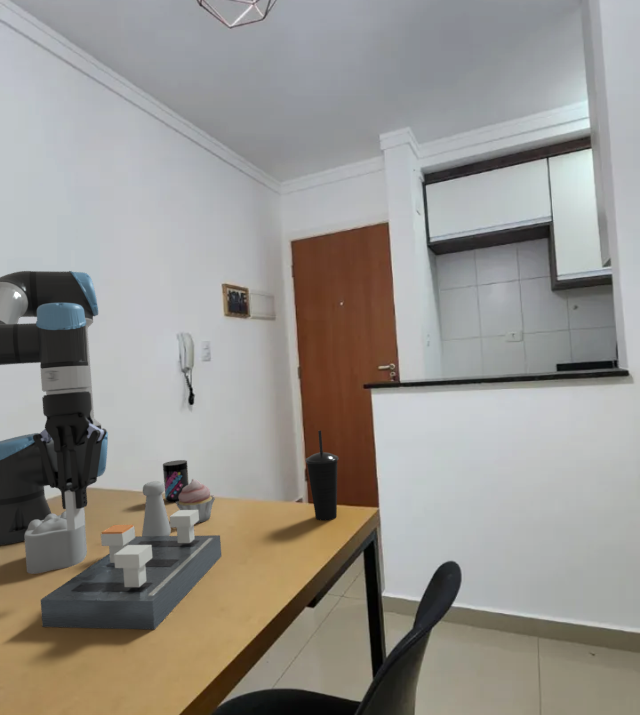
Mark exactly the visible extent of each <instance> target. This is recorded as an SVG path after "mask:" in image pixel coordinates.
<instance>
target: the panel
mask: <svg viewBox="0 0 640 715" xmlns="http://www.w3.org/2000/svg"><path fill="white" fill-rule="evenodd" d="M194 537H195V539H194V540H193V541H192V542H190V543H178V539H177V535H169V536H142V535H141V536H140V535H139V536H136V535H135V538H134V539H133V540H131V541H130V542H129V545H152V559H150V560H149V561H148V562H147V563H145V568H146V582H145V583H144V584H142V585H141V586H140V587H125V585H124V572H123V568H115V563H110V553H108V554H106V555H104V556H103V557H102V558H100V559H99V560H98V561H96V562H94V563H93V564H92V565H90V566H88V567H87V568H85V569H84V570H82V571H81V572H79V573H78V574H76V575H74V576H73V577H72V578H70V579H69V580H67V581H66V582H65V583H63V584H62V585H60V586H59V587H57V588H56V589H54V590H53V591H52V592H50V593H48V594H47V595H45V596H44V597H42V598H40V612H41V624H42V625H41V626H42V627H43V628H72V629H73V628H76V629H77V628H78V629H79V628H81V629H83V628H84V629H120V630H121V629H123V630H125V629H126V630H156V629H157V628H158V626H159V625H161V623H162V622H163V621H164V620H165V619H166V618H167V617H168V615H169V614H171V612H172V611H173V610H174V609H175V608H176V607H177V606H178V605H179V603H181V601H182V600H183V599H184V598H185V596H186V595H188V593H189V592H191V590H192V589H193V588H194V587H195V586H196V585H197V584H198V583H199V582H200V581H201V579H202V578H203V577H204V576H205V575H206V574H207V573H208V572H209V571H210V570H211V568H212V567H213V566H215V564H216V563H217V562H218V560H219V559H221V557H222V546H221V542H222V541H221V535H219V534H218V535H215V534H214V535H213V534H212V535H194Z"/></svg>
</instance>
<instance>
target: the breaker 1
mask: <svg viewBox="0 0 640 715" xmlns="http://www.w3.org/2000/svg"><path fill="white" fill-rule="evenodd" d="M150 559H152V545H127V546H126V547H124V548H123V549H121V550H120V551H119V552H117V553H116V554H114V561H115V568H123V572H124V585H125V587H140V586H141V585H142V584H144V583H145V582H146V568H145V563H147V562H148V561H149V560H150Z"/></svg>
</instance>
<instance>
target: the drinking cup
mask: <svg viewBox="0 0 640 715" xmlns="http://www.w3.org/2000/svg"><path fill="white" fill-rule="evenodd" d="M317 433H318V434H317V435H318V445H319V452H317V453H314V454H312V455H310V456H309V457H307V458H305V459H304V460H305V463H306V466H307V472H308V477H309V478H308V479H309V485H310V491H311V497H312V502H313V509H314V515H315V519H316V520H317V521H321V522H323V521H324V522H325V521H331V520H335V519H336V518H337V515H338V513H337V512H338V511H337V509H338V506H337V505H338V504H337V503H338V500H337V499H338V461H339V456H338V455H335V454H333V453H330V452H324V450H323V438H322V436H323V435H322V430H318V432H317Z"/></svg>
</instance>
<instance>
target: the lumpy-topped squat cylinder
mask: <svg viewBox="0 0 640 715" xmlns="http://www.w3.org/2000/svg"><path fill="white" fill-rule="evenodd" d="M86 534H87V532H86V524H85V525H83V526H81V527H79V528H77V529H75V530H67V519H66V510H64V511H63V512H62V513H61V514H59V515H57V514H56V513H53V512H51V514H49V515H47V516H46V517H45V519H44V520H41V521H40V520H33V521H31V522H30V523H29V526H28V529H27V530H26V532H25V535H24V537H25V541H24V549H25V550H24V551H25V552H24V553H25V561H26V562H25V564H26V573H28V574H31V575H32V574H37V575H38V574H42V573H45V572H46V573H47V572H50V571H54V570H60V569H67V568H71V567H74V566H76V565H78V564H81V563H82V562H83V561H84V560H85V558H86V556H87V553H88V550H87V549H88V548H87V535H86Z"/></svg>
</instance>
